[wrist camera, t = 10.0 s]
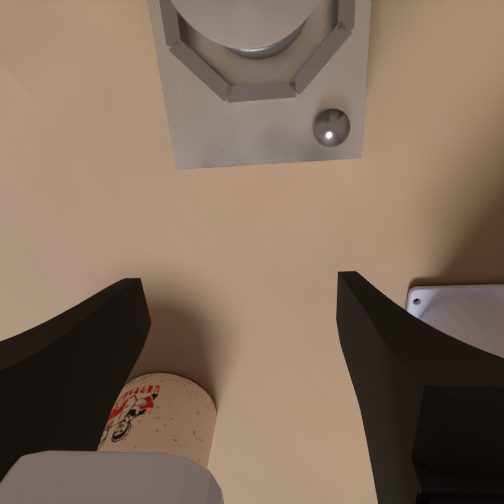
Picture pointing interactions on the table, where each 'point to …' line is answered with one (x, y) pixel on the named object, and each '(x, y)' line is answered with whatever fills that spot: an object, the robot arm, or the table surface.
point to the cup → (248, 23)
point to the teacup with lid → (161, 418)
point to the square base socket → (265, 91)
